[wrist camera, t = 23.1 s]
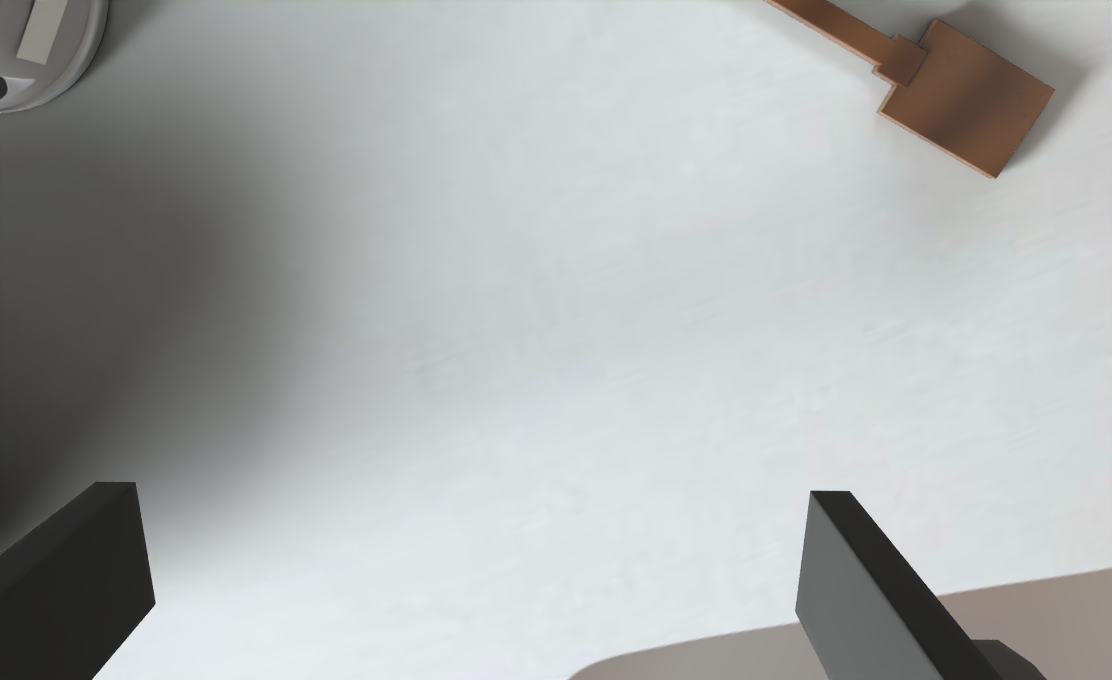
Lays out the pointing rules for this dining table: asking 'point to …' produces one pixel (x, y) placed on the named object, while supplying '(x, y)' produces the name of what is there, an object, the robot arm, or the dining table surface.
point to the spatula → (939, 85)
